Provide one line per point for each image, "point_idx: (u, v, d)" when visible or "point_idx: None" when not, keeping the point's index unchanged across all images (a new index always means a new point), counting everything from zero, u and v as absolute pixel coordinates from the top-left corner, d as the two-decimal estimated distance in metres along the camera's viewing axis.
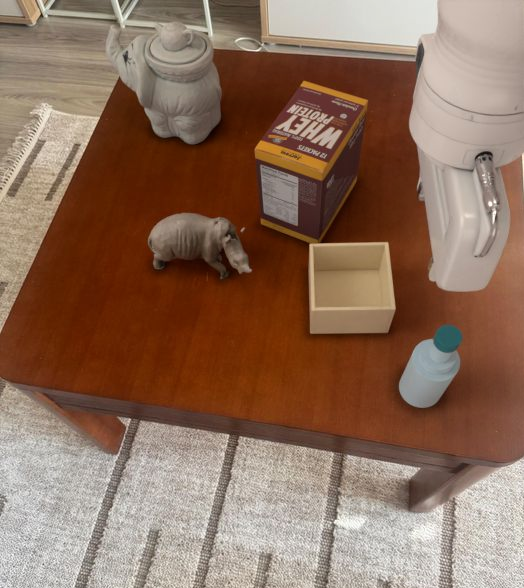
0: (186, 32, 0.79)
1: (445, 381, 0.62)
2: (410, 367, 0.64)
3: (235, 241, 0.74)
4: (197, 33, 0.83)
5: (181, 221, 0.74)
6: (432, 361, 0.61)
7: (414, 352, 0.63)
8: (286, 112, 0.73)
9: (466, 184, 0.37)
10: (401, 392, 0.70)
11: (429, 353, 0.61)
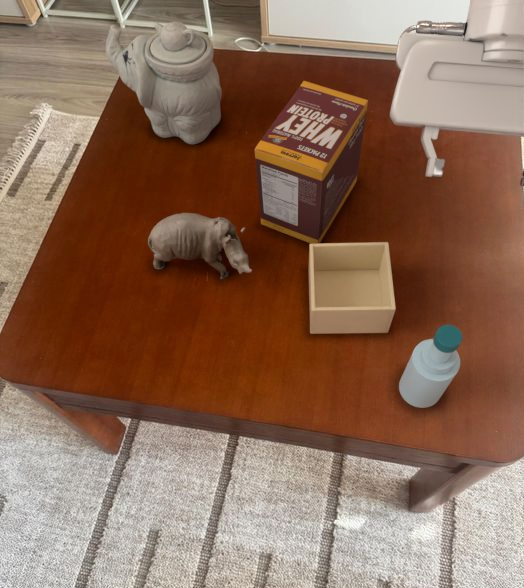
0: (186, 32, 0.79)
1: (445, 381, 0.62)
2: (410, 367, 0.64)
3: (235, 241, 0.74)
4: (197, 33, 0.83)
5: (181, 221, 0.74)
6: (432, 361, 0.61)
7: (414, 352, 0.63)
8: (286, 112, 0.73)
9: None
10: (401, 392, 0.70)
11: (429, 353, 0.61)
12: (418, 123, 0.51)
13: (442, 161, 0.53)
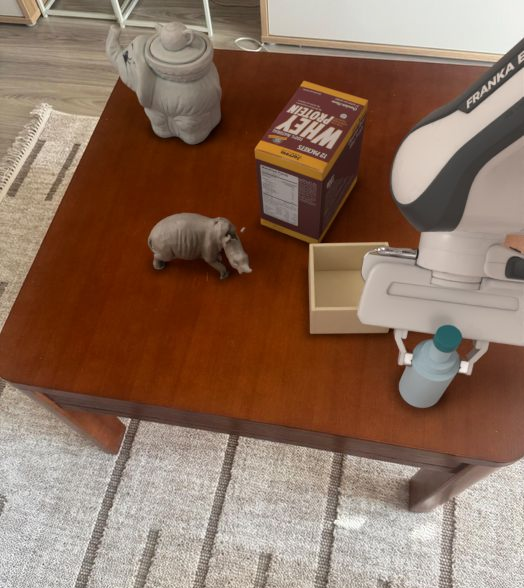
0: (186, 32, 0.79)
1: (445, 381, 0.62)
2: (410, 367, 0.64)
3: (235, 241, 0.74)
4: (197, 33, 0.83)
5: (181, 221, 0.74)
6: (432, 361, 0.61)
7: (414, 352, 0.63)
8: (286, 112, 0.73)
9: None
10: (401, 392, 0.70)
11: (429, 353, 0.61)
12: (379, 326, 0.61)
13: (411, 355, 0.62)
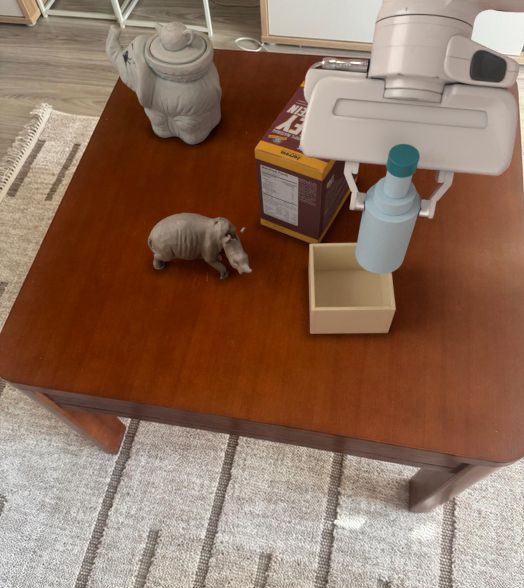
0: (186, 32, 0.79)
1: (403, 224, 0.52)
2: (363, 213, 0.55)
3: (235, 241, 0.74)
4: (197, 33, 0.83)
5: (181, 221, 0.74)
6: (387, 197, 0.52)
7: (367, 193, 0.54)
8: (286, 112, 0.73)
9: None
10: (357, 257, 0.60)
11: (383, 188, 0.52)
12: (326, 157, 0.52)
13: (363, 195, 0.53)
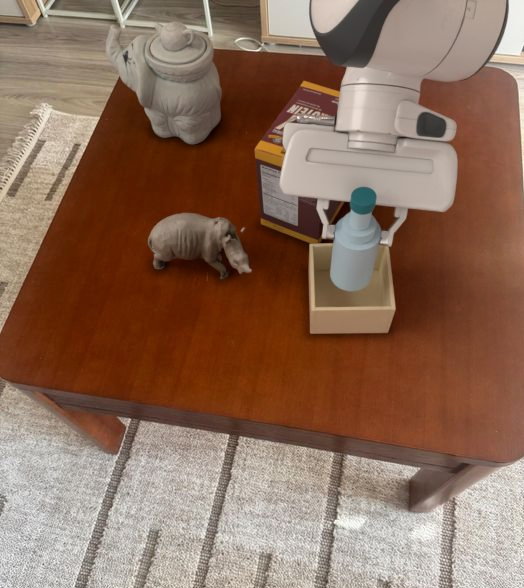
0: (186, 32, 0.79)
1: (366, 251, 0.62)
2: (334, 241, 0.65)
3: (235, 241, 0.74)
4: (197, 33, 0.83)
5: (181, 221, 0.74)
6: (352, 229, 0.62)
7: (337, 225, 0.64)
8: (286, 112, 0.73)
9: None
10: (331, 277, 0.70)
11: (349, 222, 0.62)
12: (301, 196, 0.62)
13: (333, 227, 0.63)
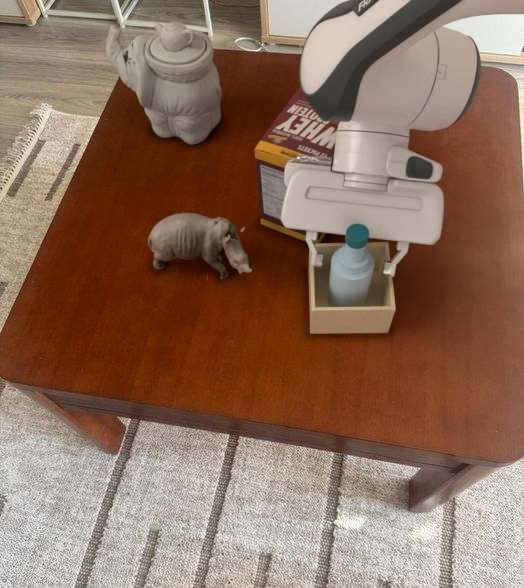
0: (186, 32, 0.79)
1: (360, 280, 0.68)
2: (331, 271, 0.70)
3: (235, 241, 0.74)
4: (197, 33, 0.83)
5: (181, 221, 0.74)
6: (347, 261, 0.67)
7: (333, 256, 0.69)
8: (286, 112, 0.73)
9: None
10: (328, 301, 0.76)
11: (344, 254, 0.67)
12: (300, 229, 0.68)
13: (321, 256, 0.69)
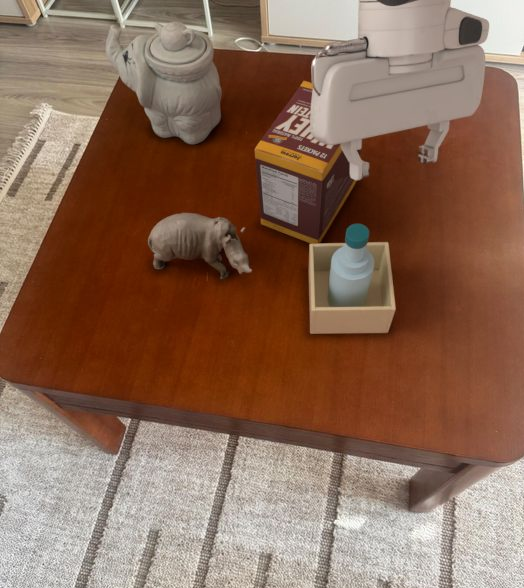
0: (186, 32, 0.79)
1: (360, 280, 0.68)
2: (331, 271, 0.70)
3: (235, 241, 0.74)
4: (197, 33, 0.83)
5: (181, 221, 0.74)
6: (347, 261, 0.67)
7: (333, 256, 0.69)
8: (286, 112, 0.73)
9: None
10: (328, 301, 0.76)
11: (344, 254, 0.67)
12: (347, 141, 0.55)
13: (367, 165, 0.58)
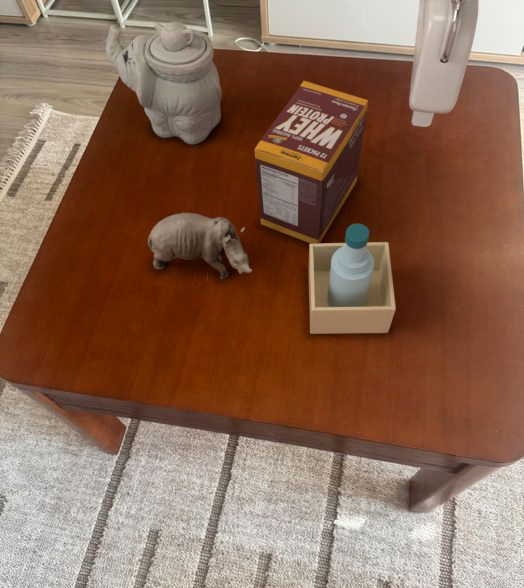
0: (186, 32, 0.79)
1: (360, 280, 0.68)
2: (331, 271, 0.70)
3: (235, 241, 0.74)
4: (197, 33, 0.83)
5: (181, 221, 0.74)
6: (347, 261, 0.67)
7: (333, 256, 0.69)
8: (286, 112, 0.73)
9: None
10: (328, 301, 0.76)
11: (344, 254, 0.67)
12: None
13: None
